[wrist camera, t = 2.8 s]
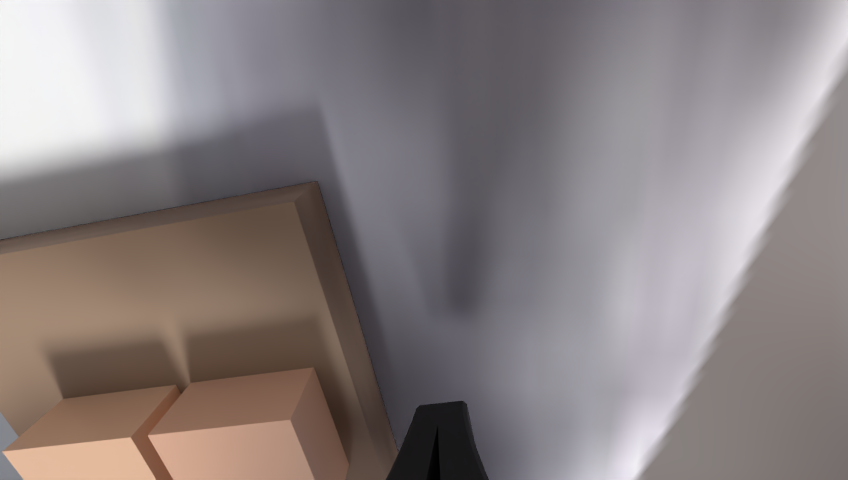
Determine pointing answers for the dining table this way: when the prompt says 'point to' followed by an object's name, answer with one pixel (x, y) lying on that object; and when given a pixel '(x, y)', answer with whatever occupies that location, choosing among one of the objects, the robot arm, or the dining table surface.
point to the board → (190, 311)
